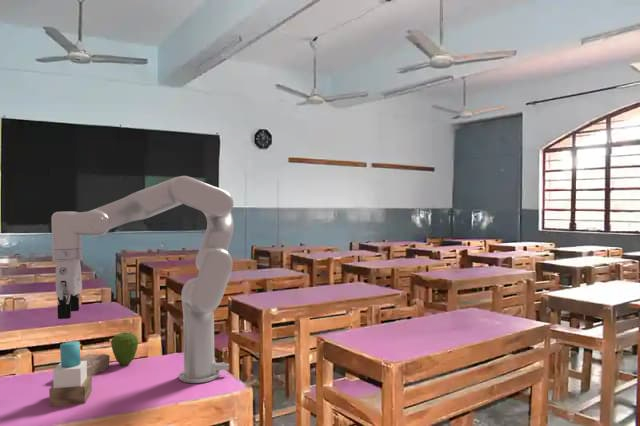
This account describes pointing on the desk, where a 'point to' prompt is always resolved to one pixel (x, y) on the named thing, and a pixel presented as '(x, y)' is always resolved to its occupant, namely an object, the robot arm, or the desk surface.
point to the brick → (95, 363)
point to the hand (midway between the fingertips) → (68, 314)
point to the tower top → (70, 375)
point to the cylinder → (70, 354)
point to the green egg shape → (124, 347)
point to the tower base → (71, 394)
